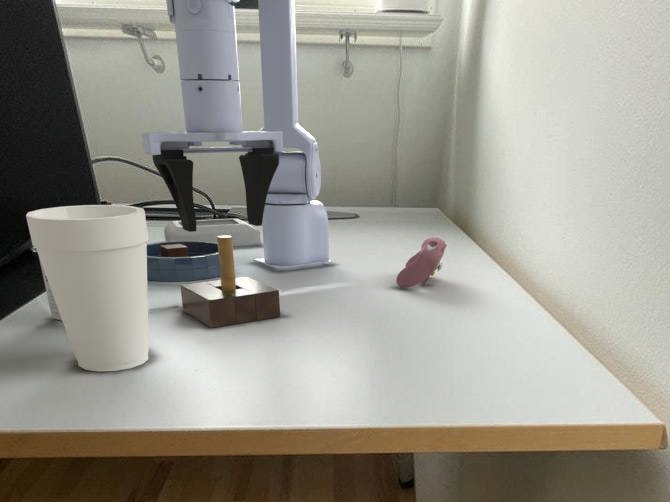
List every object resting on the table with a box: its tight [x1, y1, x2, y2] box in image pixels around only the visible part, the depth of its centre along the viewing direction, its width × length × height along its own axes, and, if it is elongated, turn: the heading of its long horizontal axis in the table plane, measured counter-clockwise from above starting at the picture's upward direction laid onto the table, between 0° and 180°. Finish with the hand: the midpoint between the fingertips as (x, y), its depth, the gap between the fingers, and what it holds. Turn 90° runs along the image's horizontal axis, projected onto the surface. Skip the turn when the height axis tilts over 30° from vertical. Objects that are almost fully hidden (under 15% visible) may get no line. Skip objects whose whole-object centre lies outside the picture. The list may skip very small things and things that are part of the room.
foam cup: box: [25, 204, 150, 373], centre depth 59 cm, size 10×9×13 cm
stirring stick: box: [217, 235, 236, 291], centre depth 74 cm, size 2×2×8 cm
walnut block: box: [160, 244, 189, 257], centre depth 95 cm, size 3×3×3 cm
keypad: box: [163, 218, 262, 247], centre depth 114 cm, size 10×4×15 cm
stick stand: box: [179, 276, 281, 329], centre depth 76 cm, size 8×8×3 cm
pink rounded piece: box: [395, 237, 448, 289], centre depth 90 cm, size 10×5×7 cm, turn 168°
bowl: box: [147, 241, 221, 282], centre depth 94 cm, size 14×14×4 cm
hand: (223, 227), depth 72 cm, fingers open, 7 cm apart
